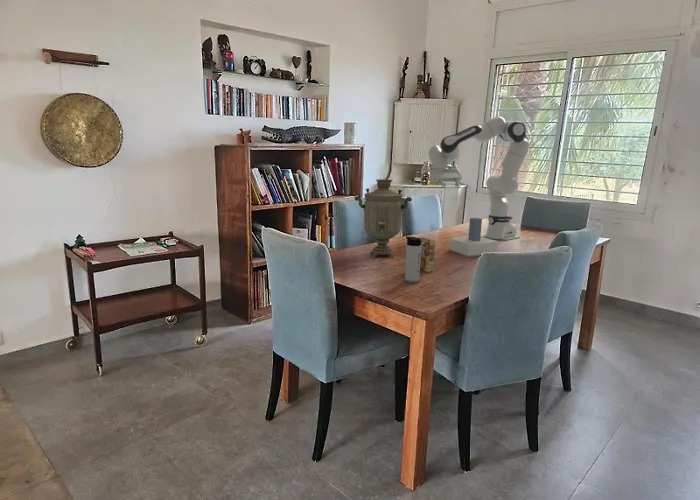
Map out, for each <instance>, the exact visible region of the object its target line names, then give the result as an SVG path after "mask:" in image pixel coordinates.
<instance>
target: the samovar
mask: <svg viewBox="0 0 700 500" xmlns="http://www.w3.org/2000/svg"><path fill="white" fill-rule="evenodd" d="M375 181H376V183H377V184H376V186H377V188H376V189H374V191H371V192H370V188H366V189H365V191H366V193H364V194H363V195H364V198H365V199H364V200H365V201H364V204H363V200H362V198H361V196H354V200H355V202H356V201H357V202H358V206H359V207H360V208H361V209H363V213H364V216H363V217H364V219H363V221H364V222H363V224H364V225H363V227H364V231H365V232H366V234H367V235H368V236H370V237H371V238H373V239H375V244H377V245H376V246H375V247H373V248H372V249H371V251H370V253H372V254H373V255H371V258H372V257H373V259H375V258H376V257H377V256H378V255H385V256H386V255H388V256H389V257H390V258H391V259H394V255H393V254H392V253H393V251H392V250H393V249H392V248H390V247H391V246H388V244H389V243H390V239H393V238H395V237H396V236H397V235H398V234H399V233H400V231H401V229H402V212H403V210H405V209H406V208H407V207H408V205H409V204H408V202H412V200H413V199H412V197H409V196H408V197H406V198H405V199H404V203H403V204H402V199H403V193H402V192H403V190H402V189H397V191H398V192H396V191H394V190H392V189H390V187H391V184H392V182H394V181H393V179H385V178H383V179H380V178H379V179H375Z"/></svg>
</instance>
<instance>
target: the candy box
mask: <svg viewBox="0 0 700 500" xmlns="http://www.w3.org/2000/svg"><path fill="white" fill-rule="evenodd" d="M417 238H420V239H421V258H420V271H421V272H422V271H423V272H425V273H430V272H431V271H432V272H434V266H435V265H434V264H435V263H434V262H435V249H436V240H435V239H431V238H428V237H423V236H419V237H417Z"/></svg>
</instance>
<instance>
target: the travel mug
mask: <svg viewBox="0 0 700 500" xmlns="http://www.w3.org/2000/svg"><path fill="white" fill-rule="evenodd" d="M405 249H406V254H405V271H404V272H405V273H404V281H405V282H406V283H408V282H409V284H418V283H419V282H420V273H421V270H420V258H421V239H420V238H418V237H416V236H406V248H405ZM417 282H418V283H417Z"/></svg>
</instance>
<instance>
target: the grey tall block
mask: <svg viewBox="0 0 700 500" xmlns="http://www.w3.org/2000/svg"><path fill="white" fill-rule="evenodd" d="M482 224H483V218H479V217H471V218H469V225H468V226H469V227H468V236H467V237H468V239H469V240H472V241H480V236H481V234H482Z"/></svg>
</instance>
